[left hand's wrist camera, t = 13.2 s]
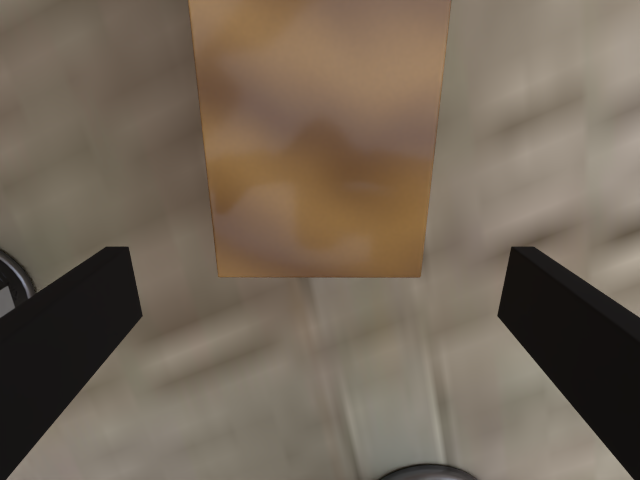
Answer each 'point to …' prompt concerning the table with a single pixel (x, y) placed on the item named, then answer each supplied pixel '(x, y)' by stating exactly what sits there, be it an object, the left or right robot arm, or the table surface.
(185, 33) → the table surface
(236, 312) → the table surface
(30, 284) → the right robot arm
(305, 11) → the tan rectangular mottled block
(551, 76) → the table surface
